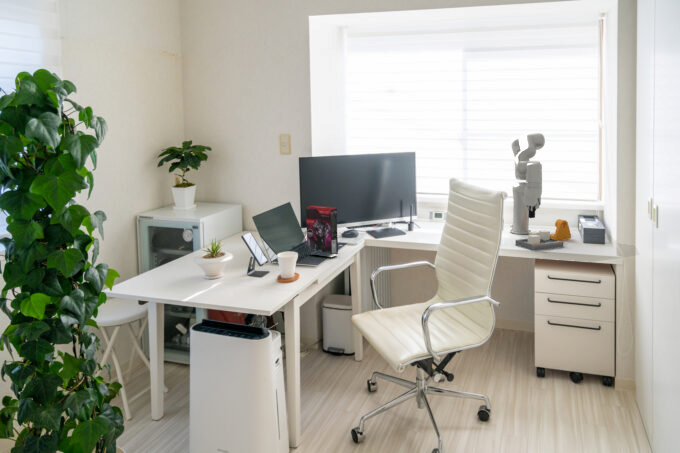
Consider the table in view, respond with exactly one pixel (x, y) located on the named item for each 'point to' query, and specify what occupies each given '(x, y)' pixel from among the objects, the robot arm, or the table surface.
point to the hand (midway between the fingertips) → (531, 217)
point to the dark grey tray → (543, 244)
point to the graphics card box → (322, 229)
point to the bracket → (561, 231)
